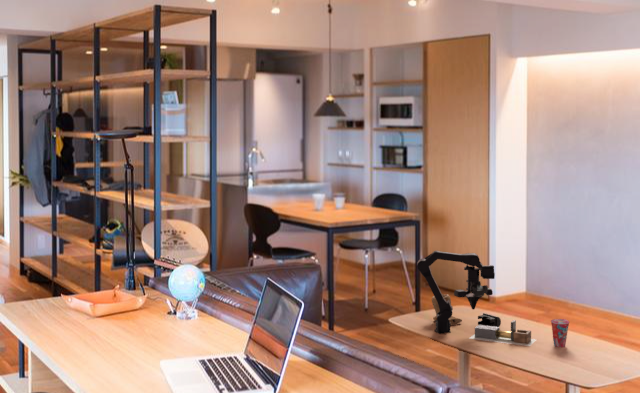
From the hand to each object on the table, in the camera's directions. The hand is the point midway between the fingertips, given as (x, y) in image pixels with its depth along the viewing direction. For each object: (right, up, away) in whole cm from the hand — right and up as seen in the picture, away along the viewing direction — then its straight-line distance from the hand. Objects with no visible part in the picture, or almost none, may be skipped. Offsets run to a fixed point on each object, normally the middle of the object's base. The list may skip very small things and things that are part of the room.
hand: (473, 309), depth 403 cm
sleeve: (+5, -13, -8) cm, 16 cm away
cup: (+36, -14, -24) cm, 46 cm away
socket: (+20, -13, -17) cm, 29 cm away
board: (+12, -13, -12) cm, 21 cm away
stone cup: (-11, -10, +22) cm, 27 cm away
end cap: (+10, -11, +10) cm, 18 cm away
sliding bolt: (+14, -12, -13) cm, 23 cm away
